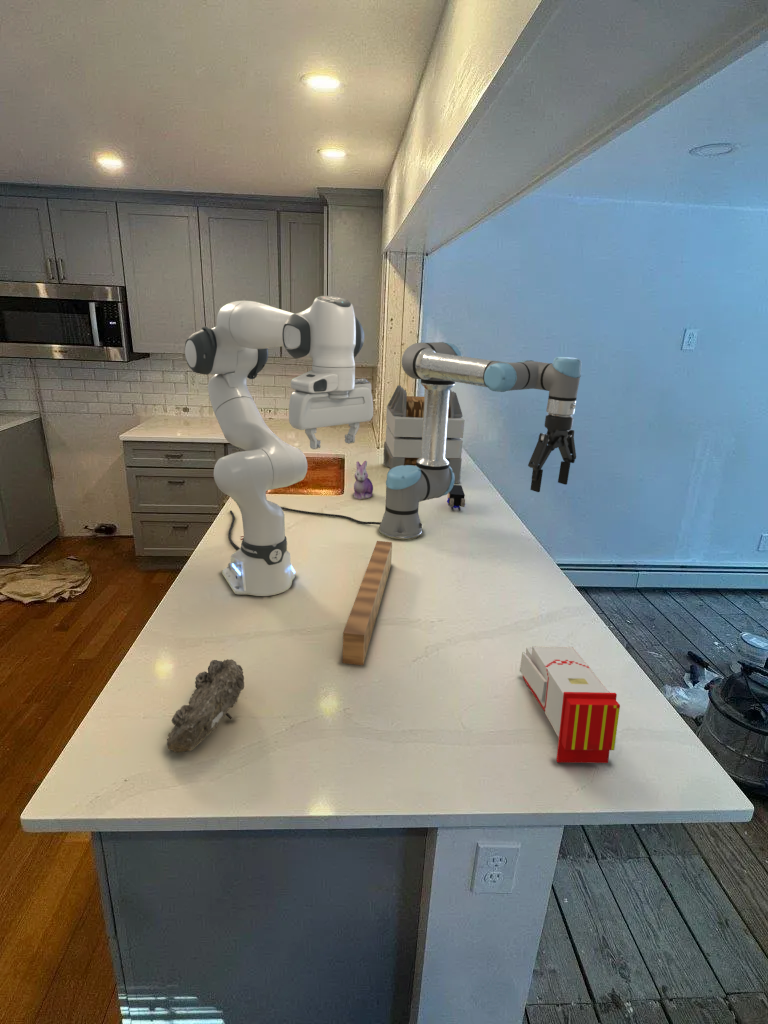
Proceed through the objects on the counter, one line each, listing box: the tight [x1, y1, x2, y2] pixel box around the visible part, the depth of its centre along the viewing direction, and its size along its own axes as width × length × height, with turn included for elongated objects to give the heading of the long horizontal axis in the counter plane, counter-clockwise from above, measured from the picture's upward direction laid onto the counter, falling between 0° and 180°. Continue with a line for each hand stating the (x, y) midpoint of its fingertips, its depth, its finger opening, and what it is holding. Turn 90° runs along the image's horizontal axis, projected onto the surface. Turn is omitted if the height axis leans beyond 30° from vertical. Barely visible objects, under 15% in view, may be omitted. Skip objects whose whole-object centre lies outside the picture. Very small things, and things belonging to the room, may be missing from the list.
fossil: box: [166, 658, 245, 754], centre depth 106 cm, size 22×10×15 cm
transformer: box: [383, 384, 465, 484], centre depth 268 cm, size 34×33×41 cm
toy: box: [519, 645, 621, 764], centre depth 112 cm, size 12×13×30 cm
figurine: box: [353, 460, 374, 500], centre depth 235 cm, size 9×10×15 cm
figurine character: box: [446, 484, 466, 511], centre depth 229 cm, size 7×8×15 cm
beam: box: [342, 540, 393, 666], centre depth 149 cm, size 53×5×8 cm, turn 173°
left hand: (332, 445), depth 122 cm, fingers open, 8 cm apart
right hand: (549, 487), depth 166 cm, fingers open, 13 cm apart
